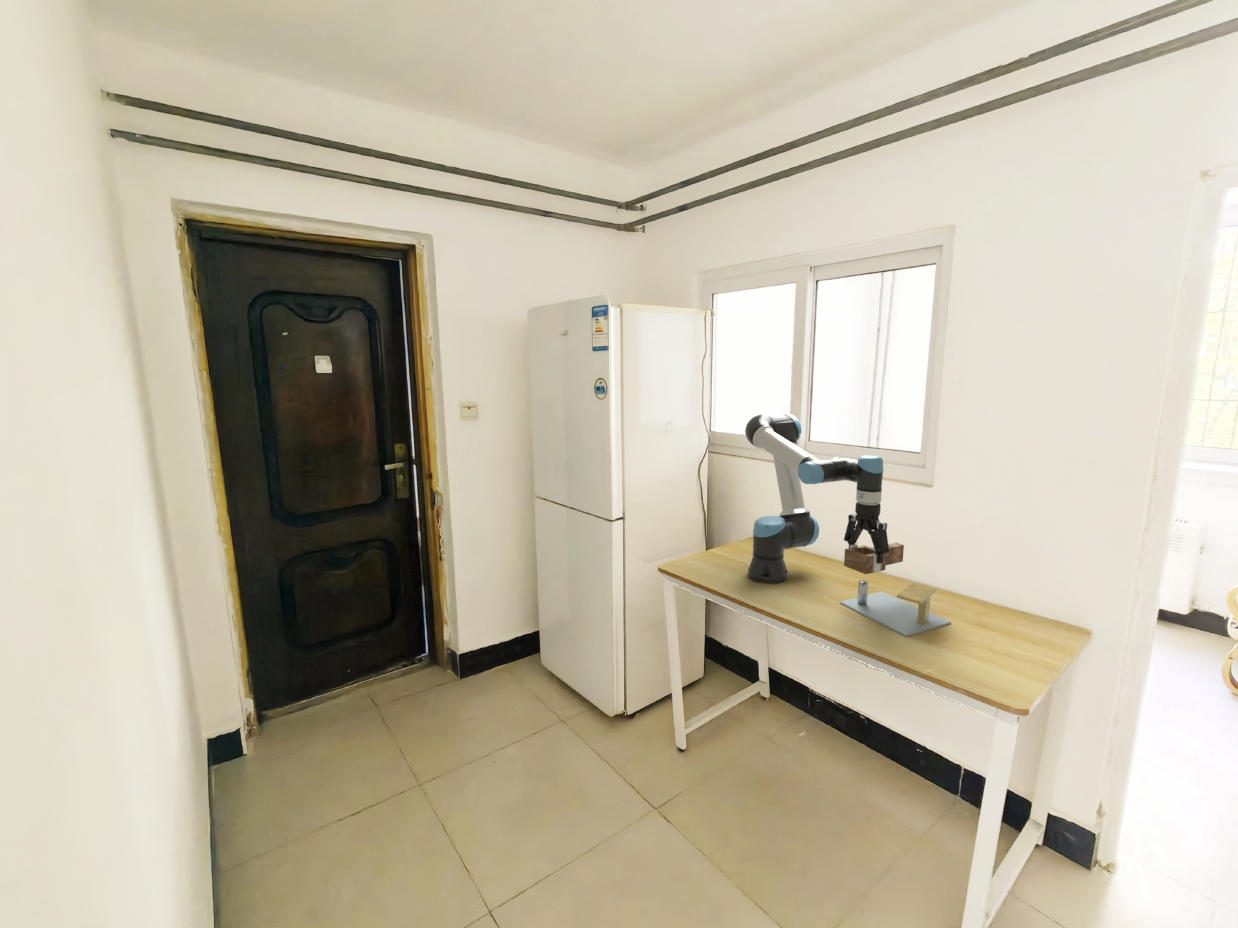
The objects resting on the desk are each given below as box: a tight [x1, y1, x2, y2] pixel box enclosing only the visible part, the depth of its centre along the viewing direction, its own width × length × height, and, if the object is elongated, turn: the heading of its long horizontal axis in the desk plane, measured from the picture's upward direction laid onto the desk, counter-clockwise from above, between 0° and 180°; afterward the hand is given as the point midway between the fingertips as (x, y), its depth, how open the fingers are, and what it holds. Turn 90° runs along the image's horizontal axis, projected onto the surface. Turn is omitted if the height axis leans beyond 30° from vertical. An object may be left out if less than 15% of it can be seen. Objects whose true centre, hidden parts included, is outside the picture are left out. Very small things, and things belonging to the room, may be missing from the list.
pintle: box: [857, 579, 869, 606], centre depth 181 cm, size 3×3×8 cm
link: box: [843, 542, 905, 575], centre depth 181 cm, size 21×9×6 cm, turn 114°
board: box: [839, 591, 952, 638], centre depth 176 cm, size 26×20×1 cm
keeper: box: [896, 583, 936, 625], centre depth 169 cm, size 7×13×10 cm, turn 133°
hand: (864, 567), depth 180 cm, fingers closed on link, 9 cm apart
